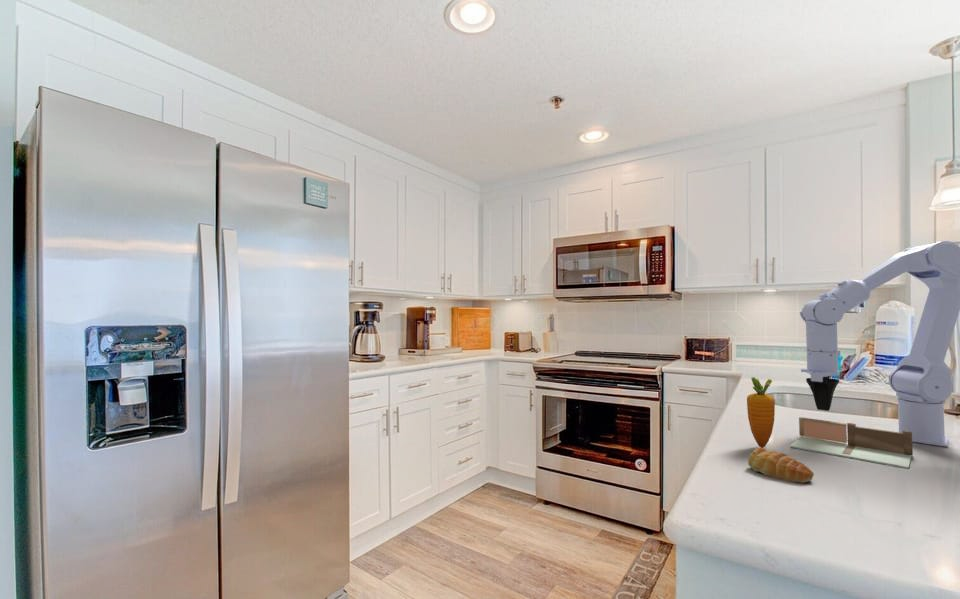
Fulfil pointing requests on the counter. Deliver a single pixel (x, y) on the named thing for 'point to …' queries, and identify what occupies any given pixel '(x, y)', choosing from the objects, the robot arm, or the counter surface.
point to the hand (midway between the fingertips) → (823, 409)
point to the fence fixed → (880, 439)
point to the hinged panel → (823, 429)
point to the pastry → (779, 466)
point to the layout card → (852, 451)
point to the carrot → (761, 412)
